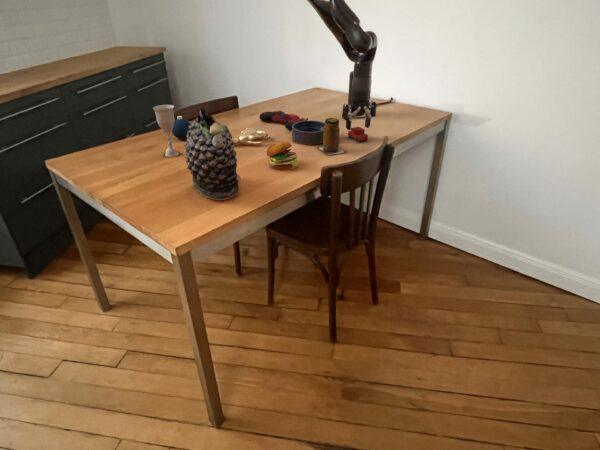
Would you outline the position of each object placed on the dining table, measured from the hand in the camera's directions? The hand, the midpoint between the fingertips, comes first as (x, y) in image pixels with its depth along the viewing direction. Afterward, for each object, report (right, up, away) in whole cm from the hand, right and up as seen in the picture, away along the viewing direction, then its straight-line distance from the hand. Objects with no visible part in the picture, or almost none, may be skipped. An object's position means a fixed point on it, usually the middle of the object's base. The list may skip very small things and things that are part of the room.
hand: (357, 128), depth 167 cm
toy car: (0, -4, +3) cm, 5 cm away
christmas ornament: (-73, -4, +3) cm, 73 cm away
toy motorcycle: (-30, +7, +21) cm, 37 cm away
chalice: (-73, -13, -11) cm, 75 cm away
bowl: (-19, -4, +3) cm, 20 cm away
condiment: (-11, -11, -8) cm, 18 cm away
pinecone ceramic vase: (-51, -28, -37) cm, 69 cm away
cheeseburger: (-30, -18, -20) cm, 41 cm away
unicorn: (-45, -5, +1) cm, 46 cm away
